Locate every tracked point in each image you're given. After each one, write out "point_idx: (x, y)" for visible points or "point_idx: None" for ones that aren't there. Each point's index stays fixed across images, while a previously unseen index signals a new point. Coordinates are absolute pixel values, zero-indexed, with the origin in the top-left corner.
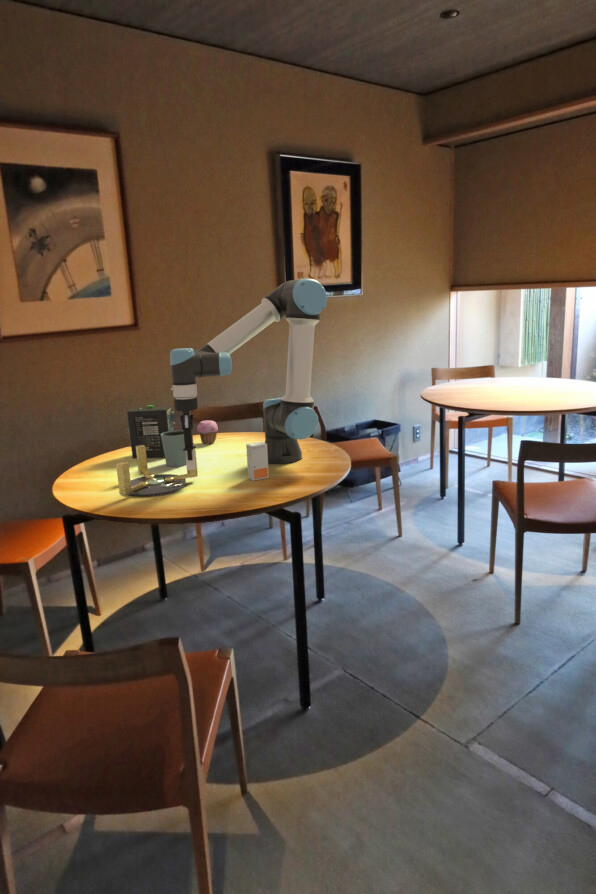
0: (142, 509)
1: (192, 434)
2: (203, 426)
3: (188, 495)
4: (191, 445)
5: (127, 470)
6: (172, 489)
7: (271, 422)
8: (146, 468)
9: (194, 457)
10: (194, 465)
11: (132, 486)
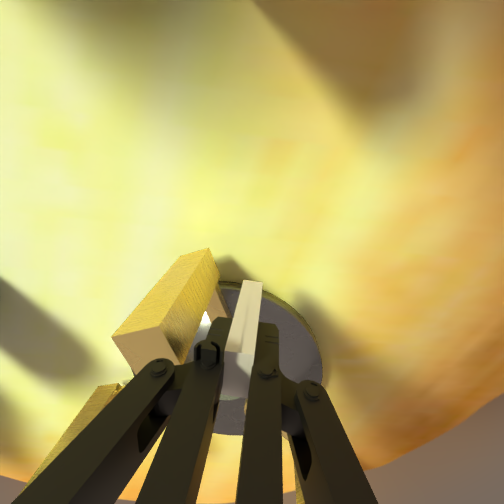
0: (425, 401)
1: (104, 455)
2: None
3: (368, 287)
4: (337, 424)
5: None
6: (310, 333)
7: None
8: (110, 400)
9: (185, 299)
10: (261, 294)
11: (282, 434)
